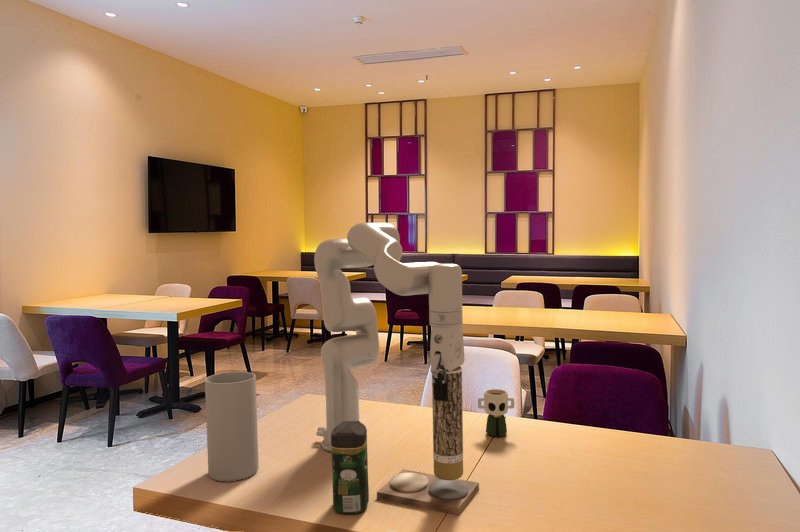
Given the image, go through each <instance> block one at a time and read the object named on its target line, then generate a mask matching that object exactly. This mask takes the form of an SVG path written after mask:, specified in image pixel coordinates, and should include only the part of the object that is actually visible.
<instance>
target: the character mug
mask: <svg viewBox="0 0 800 532" xmlns="http://www.w3.org/2000/svg"><path fill="white" fill-rule="evenodd" d="M509 401H510V405H509ZM482 402H483V404H482ZM477 408H478V409H482V410H483V411H484V412H485V413H486V414H488V415H487V418H486V426H485V432H486V434H487V435H489V436H493V437H496V436H497V434H498V436H499V437H503V436H506V435H507V433H508V429H507V423H506V422H507V420H506V416H505V415H506V414H507V413H508V411H509V410H510V409H514V408H515V398H514V397H509V392H508V391H507V390H504V389H500V388H499V389H498V388H490V389H486V390H484V392H483V397H478V398H477Z"/></svg>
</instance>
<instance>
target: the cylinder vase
mask: <svg viewBox="0 0 800 532" xmlns="http://www.w3.org/2000/svg"><path fill="white" fill-rule="evenodd" d="M204 390H205V391H204V393H205V414H206V415H205V416H206V418H205V420H206V421H205V422H206V443H207V445H206V446H207V448H206V449H207V468H208V470H207V473H208V476H209V478H211V479H212V480H213V479H214V481H216V480H217V482H221V481H233V482H237V480H239V481H242V480H241V479H243V480H245V478H246V479H248V478H250V477H252V476H254V475H255V474H256V473H257V472H258V470H259V466H260V465H259V443H258V442H259V440H258V439H259V438H258V437H259V436H258V435H259V434H258V409H257V407H258V405H257V404H258V403H257V380H256V374H255V373H253V372H249V371H229V372H220V373H216V374H212V375H209V376H207V377H206V378H205V379H204ZM247 477H248V478H247Z"/></svg>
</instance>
